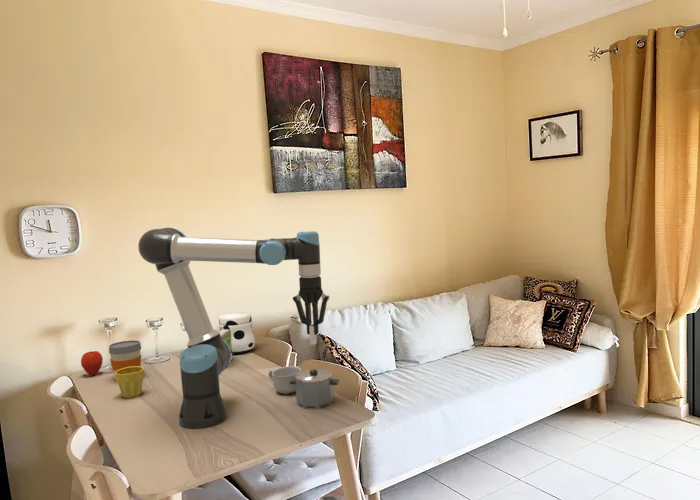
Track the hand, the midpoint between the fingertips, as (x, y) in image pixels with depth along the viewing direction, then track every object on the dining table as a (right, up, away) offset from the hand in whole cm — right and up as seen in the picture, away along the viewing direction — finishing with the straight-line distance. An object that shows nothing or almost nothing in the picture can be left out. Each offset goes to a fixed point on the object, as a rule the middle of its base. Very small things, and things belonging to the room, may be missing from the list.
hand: (313, 343), depth 187 cm
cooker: (+1, -20, -1) cm, 20 cm away
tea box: (-46, -19, +54) cm, 73 cm away
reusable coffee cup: (-81, -22, +40) cm, 93 cm away
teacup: (-11, -20, +13) cm, 26 cm away
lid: (0, -11, -2) cm, 11 cm away
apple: (-100, -23, +48) cm, 113 cm away
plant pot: (-71, -23, +18) cm, 76 cm away
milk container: (-42, -17, +76) cm, 89 cm away
